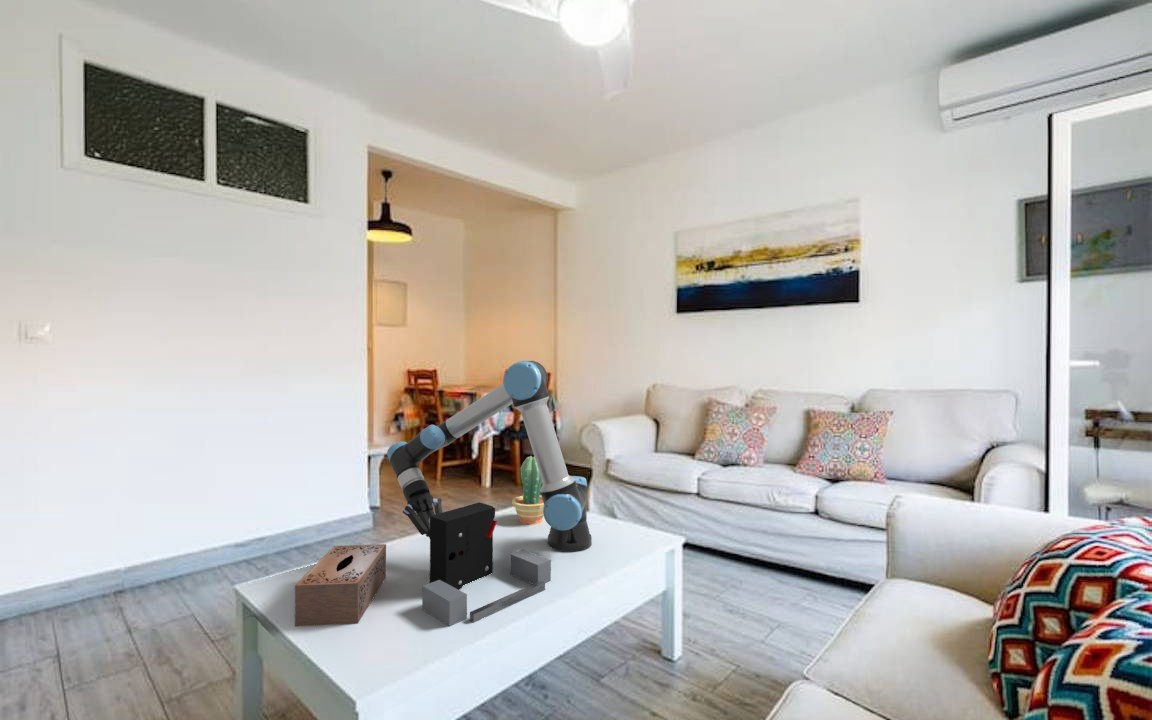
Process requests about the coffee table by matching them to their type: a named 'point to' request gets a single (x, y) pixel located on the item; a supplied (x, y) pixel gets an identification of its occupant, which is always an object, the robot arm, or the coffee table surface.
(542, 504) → the potted cactus
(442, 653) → the coffee table surface
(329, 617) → the tissue box cover
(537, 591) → the metal rail
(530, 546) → the coffee table surface
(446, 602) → the block
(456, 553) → the electrical component
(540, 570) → the block
